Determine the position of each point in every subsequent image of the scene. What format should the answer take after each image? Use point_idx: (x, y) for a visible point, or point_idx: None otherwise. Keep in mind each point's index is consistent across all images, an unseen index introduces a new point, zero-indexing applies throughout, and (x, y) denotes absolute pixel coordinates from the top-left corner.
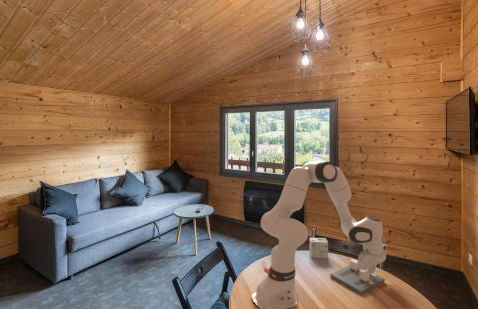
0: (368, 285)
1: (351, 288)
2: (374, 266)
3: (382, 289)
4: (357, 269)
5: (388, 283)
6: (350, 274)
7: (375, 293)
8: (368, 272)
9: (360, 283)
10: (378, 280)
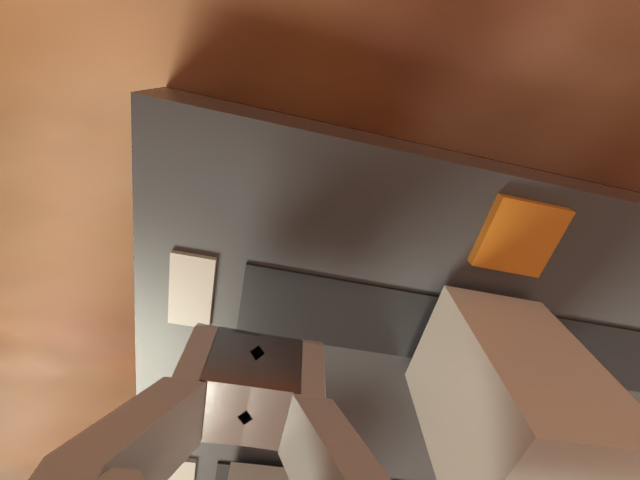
0: (610, 235)
1: None
2: (125, 468)
3: (433, 33)
4: (267, 476)
5: (129, 14)
6: (432, 469)
7: (636, 86)
8: (574, 435)
9: (617, 333)
10: (313, 167)
